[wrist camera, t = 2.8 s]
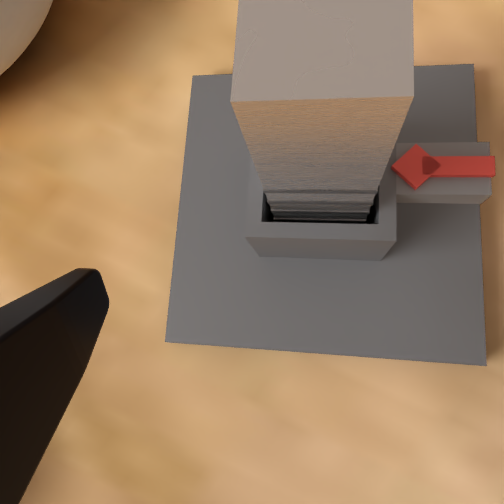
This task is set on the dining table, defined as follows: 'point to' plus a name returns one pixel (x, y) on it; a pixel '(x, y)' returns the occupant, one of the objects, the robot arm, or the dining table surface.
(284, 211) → the block
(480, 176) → the jack stand base
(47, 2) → the serving bowl
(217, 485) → the dining table surface
